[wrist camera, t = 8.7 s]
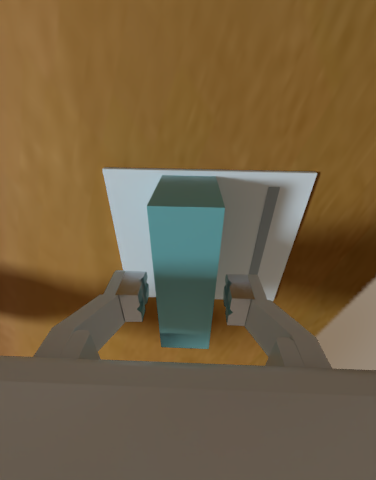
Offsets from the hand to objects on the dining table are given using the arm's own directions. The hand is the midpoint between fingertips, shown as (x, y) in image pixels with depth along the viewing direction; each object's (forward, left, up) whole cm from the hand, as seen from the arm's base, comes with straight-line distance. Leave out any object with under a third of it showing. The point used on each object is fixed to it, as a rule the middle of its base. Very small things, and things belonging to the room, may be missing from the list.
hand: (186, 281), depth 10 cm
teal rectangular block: (0, 0, -3) cm, 3 cm away
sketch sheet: (0, +1, -4) cm, 4 cm away
